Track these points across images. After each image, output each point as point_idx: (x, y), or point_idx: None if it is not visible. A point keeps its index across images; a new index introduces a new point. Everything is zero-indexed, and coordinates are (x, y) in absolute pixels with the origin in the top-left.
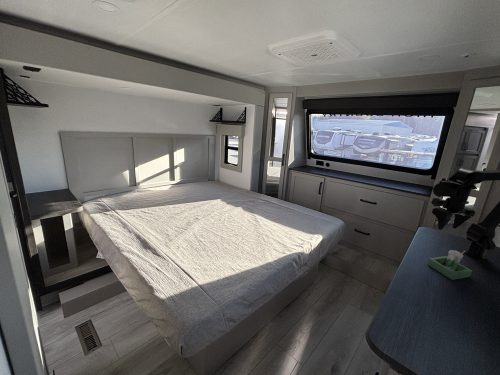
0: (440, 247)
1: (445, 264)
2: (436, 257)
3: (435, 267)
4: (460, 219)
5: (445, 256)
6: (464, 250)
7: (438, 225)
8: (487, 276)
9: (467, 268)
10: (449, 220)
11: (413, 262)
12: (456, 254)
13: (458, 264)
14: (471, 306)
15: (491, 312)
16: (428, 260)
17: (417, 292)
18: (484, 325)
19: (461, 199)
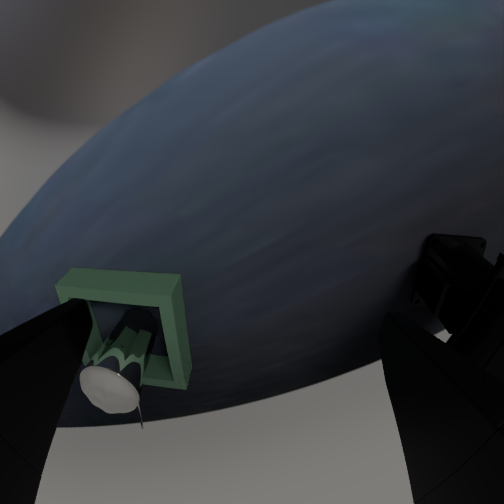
0: (357, 150)
1: (118, 322)
2: (97, 290)
3: None
4: (438, 483)
5: (163, 298)
6: (142, 425)
7: (32, 326)
8: (282, 379)
9: (179, 379)
10: (26, 499)
11: (26, 242)
12: (91, 401)
13: (168, 353)
14: (73, 402)
15: (104, 422)
16: (61, 278)
17: None
18: (63, 418)
19: None
